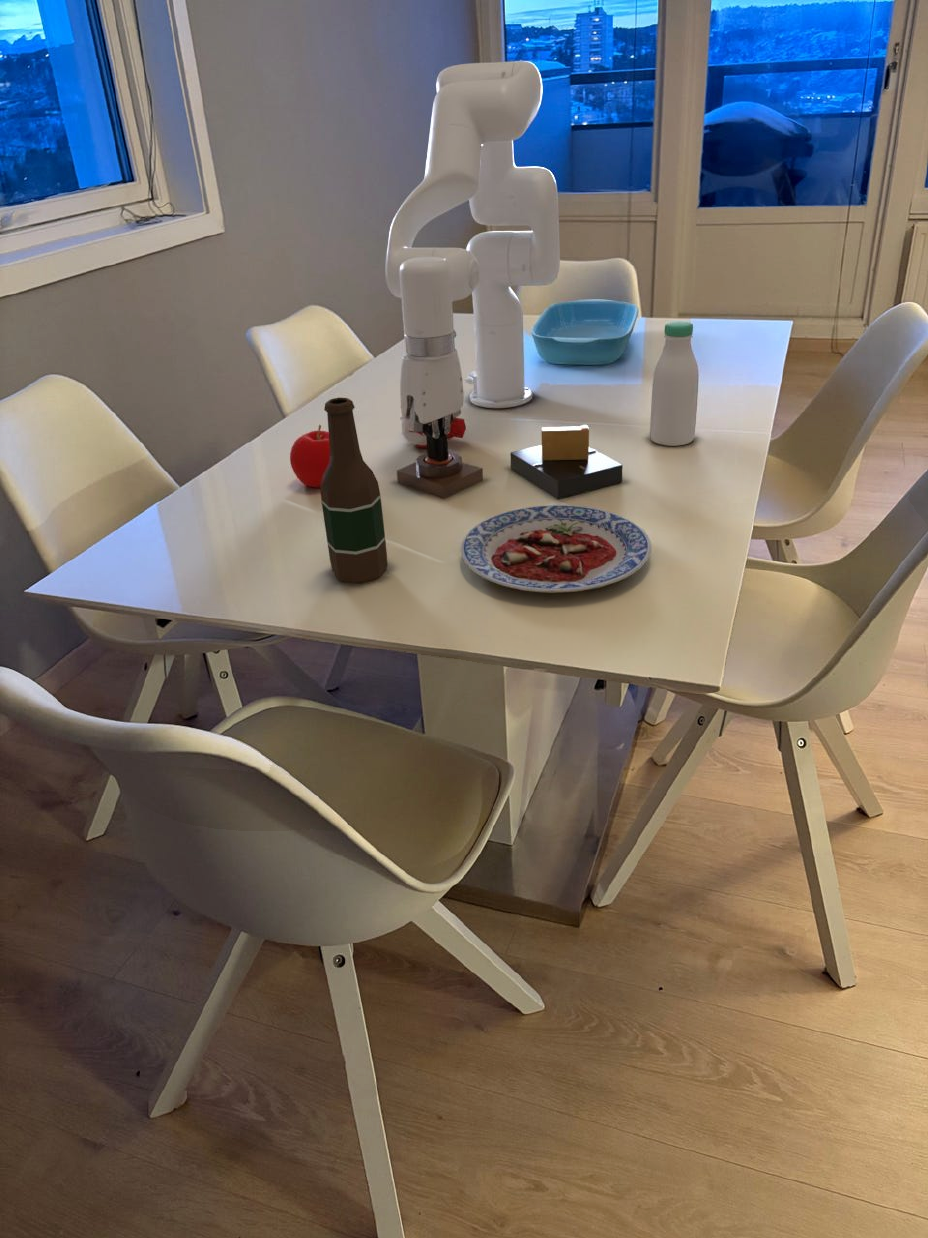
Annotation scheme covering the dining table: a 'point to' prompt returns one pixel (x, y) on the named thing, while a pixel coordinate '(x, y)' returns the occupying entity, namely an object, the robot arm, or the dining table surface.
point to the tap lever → (565, 443)
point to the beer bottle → (351, 502)
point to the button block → (440, 476)
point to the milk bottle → (675, 388)
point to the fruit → (311, 457)
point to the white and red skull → (420, 440)
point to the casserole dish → (584, 331)
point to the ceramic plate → (556, 548)
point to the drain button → (435, 462)
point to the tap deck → (566, 472)
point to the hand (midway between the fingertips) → (438, 458)
